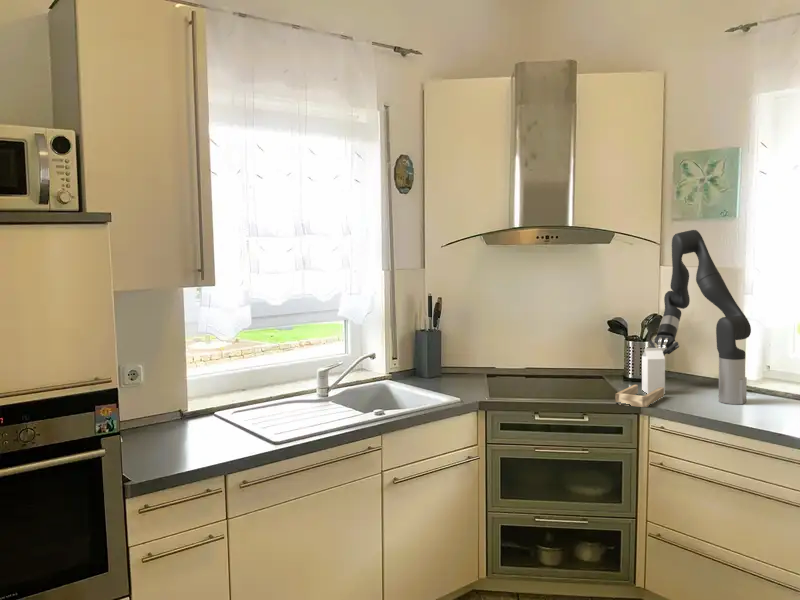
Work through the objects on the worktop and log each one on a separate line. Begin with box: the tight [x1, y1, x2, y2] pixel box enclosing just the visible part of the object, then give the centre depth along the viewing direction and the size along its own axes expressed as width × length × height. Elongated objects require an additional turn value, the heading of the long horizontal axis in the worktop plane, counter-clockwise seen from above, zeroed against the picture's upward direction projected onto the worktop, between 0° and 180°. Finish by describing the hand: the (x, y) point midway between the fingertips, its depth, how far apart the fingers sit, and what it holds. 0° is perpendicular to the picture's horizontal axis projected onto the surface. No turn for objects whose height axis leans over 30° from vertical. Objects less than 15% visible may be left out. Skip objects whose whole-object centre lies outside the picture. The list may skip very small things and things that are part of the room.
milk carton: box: [641, 347, 666, 395], centre depth 282 cm, size 7×7×19 cm
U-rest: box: [614, 384, 665, 408], centre depth 270 cm, size 12×20×4 cm, turn 141°
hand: (659, 360), depth 287 cm, fingers closed
